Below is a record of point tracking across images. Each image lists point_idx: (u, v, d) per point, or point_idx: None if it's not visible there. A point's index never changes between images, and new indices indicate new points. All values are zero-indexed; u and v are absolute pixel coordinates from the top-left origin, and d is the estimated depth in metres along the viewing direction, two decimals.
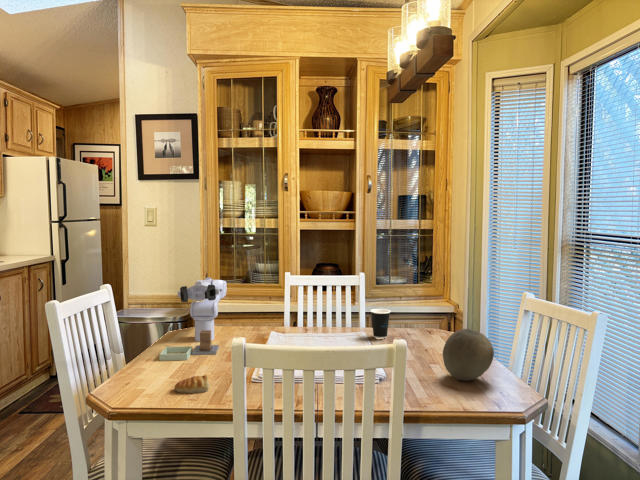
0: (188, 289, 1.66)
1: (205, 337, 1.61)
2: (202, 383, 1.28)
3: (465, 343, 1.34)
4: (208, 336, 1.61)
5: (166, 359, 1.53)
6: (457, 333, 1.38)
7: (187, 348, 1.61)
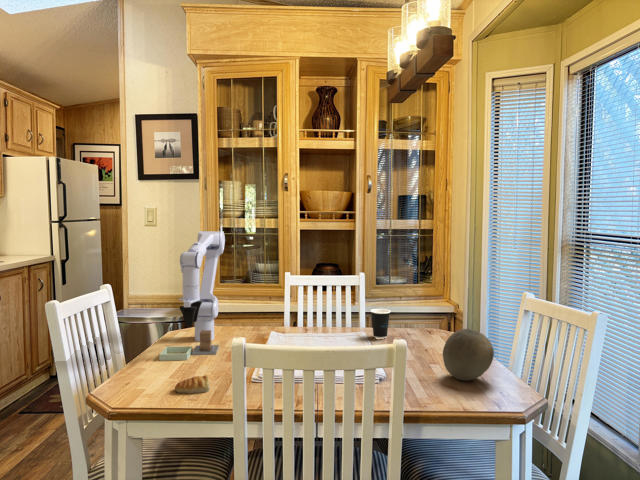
0: None
1: (205, 337, 1.61)
2: (202, 383, 1.28)
3: (465, 343, 1.34)
4: (208, 336, 1.61)
5: (166, 359, 1.53)
6: (457, 333, 1.38)
7: (187, 348, 1.61)
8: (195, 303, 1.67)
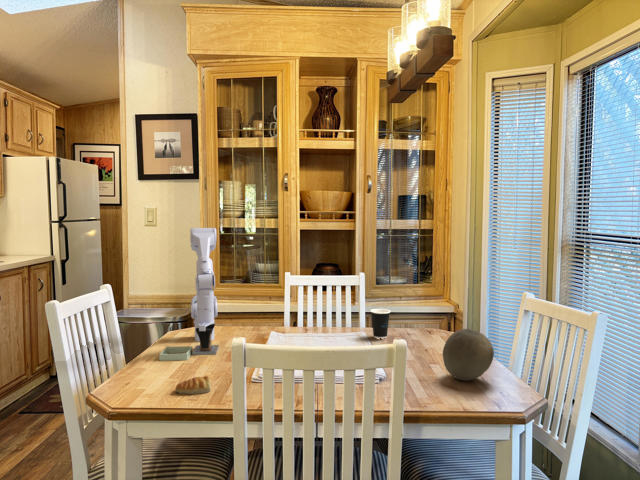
0: None
1: None
2: (204, 384, 1.28)
3: (465, 343, 1.34)
4: None
5: (166, 359, 1.53)
6: (457, 333, 1.38)
7: (187, 348, 1.61)
8: (208, 326, 1.64)
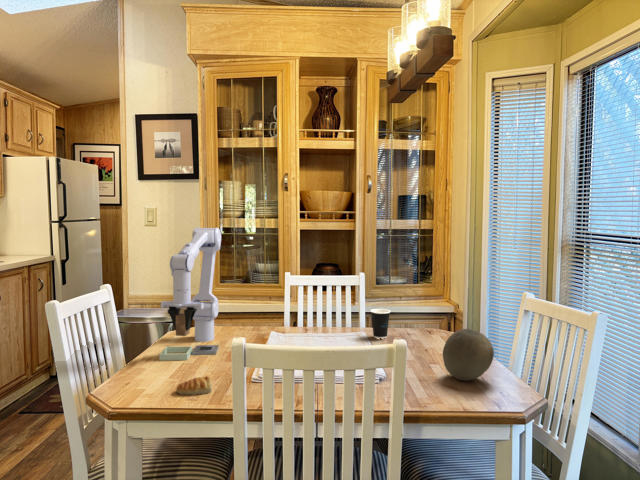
0: None
1: None
2: (205, 384, 1.27)
3: (465, 343, 1.34)
4: None
5: (166, 359, 1.53)
6: (457, 333, 1.38)
7: (187, 348, 1.61)
8: (178, 309, 1.59)
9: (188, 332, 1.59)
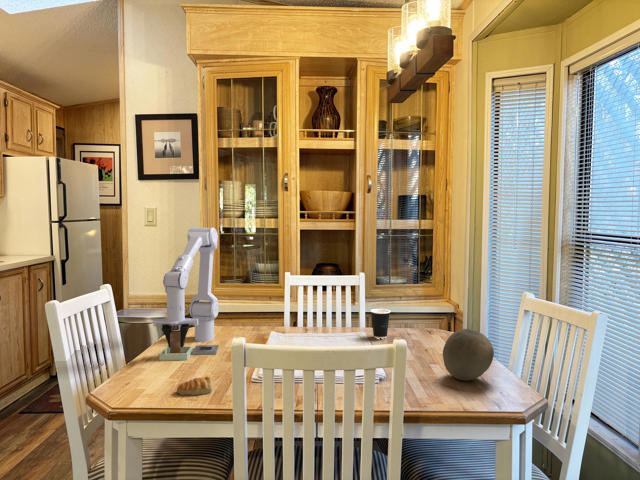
0: None
1: None
2: (205, 385, 1.27)
3: (465, 343, 1.34)
4: None
5: (166, 359, 1.53)
6: (457, 333, 1.38)
7: (187, 348, 1.61)
8: (170, 326, 1.57)
9: (182, 349, 1.58)
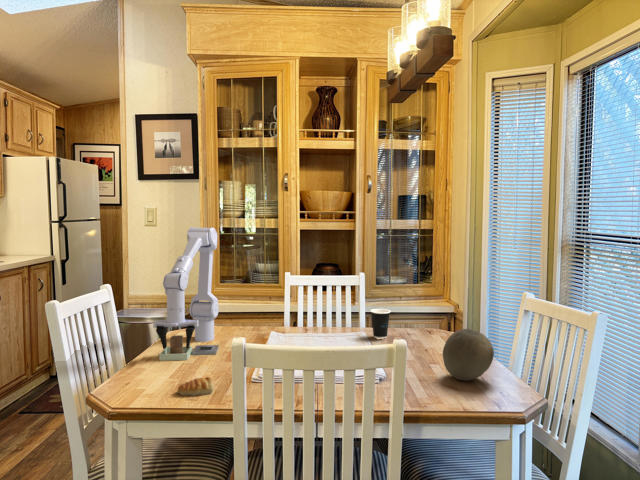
0: None
1: (181, 341, 1.57)
2: (206, 385, 1.27)
3: (465, 343, 1.34)
4: (182, 339, 1.59)
5: (166, 359, 1.53)
6: (457, 333, 1.38)
7: (187, 348, 1.61)
8: (165, 328, 1.57)
9: None
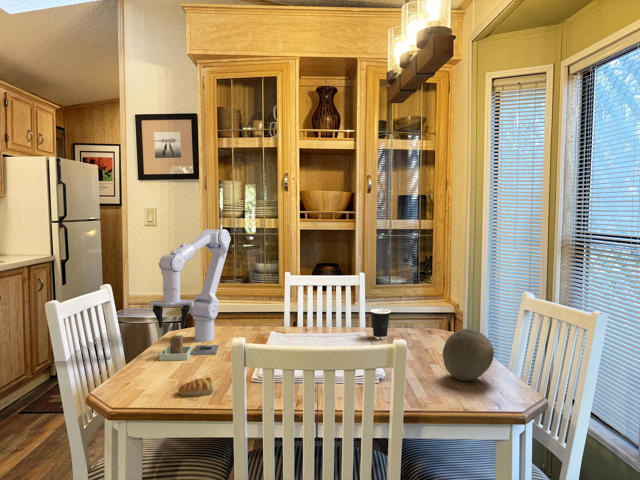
0: None
1: (181, 341, 1.57)
2: (207, 385, 1.27)
3: (465, 343, 1.34)
4: (182, 339, 1.59)
5: (166, 359, 1.53)
6: (457, 333, 1.38)
7: (187, 348, 1.61)
8: (161, 307, 1.63)
9: None
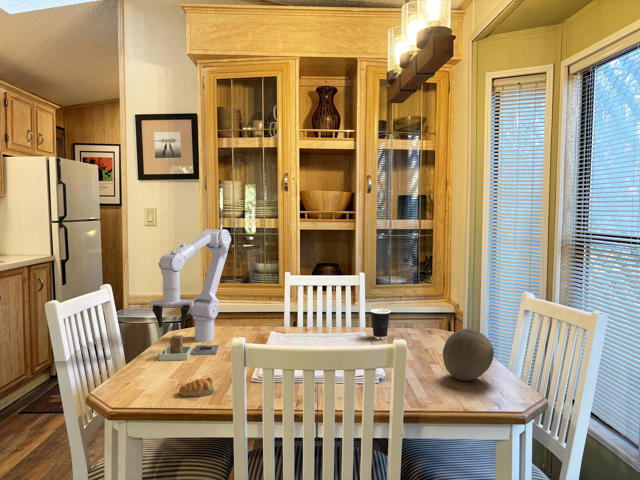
0: (160, 304, 1.61)
1: (181, 341, 1.57)
2: (208, 386, 1.26)
3: (465, 343, 1.34)
4: (182, 339, 1.59)
5: (166, 359, 1.53)
6: (457, 333, 1.38)
7: (187, 348, 1.61)
8: (161, 307, 1.64)
9: None
